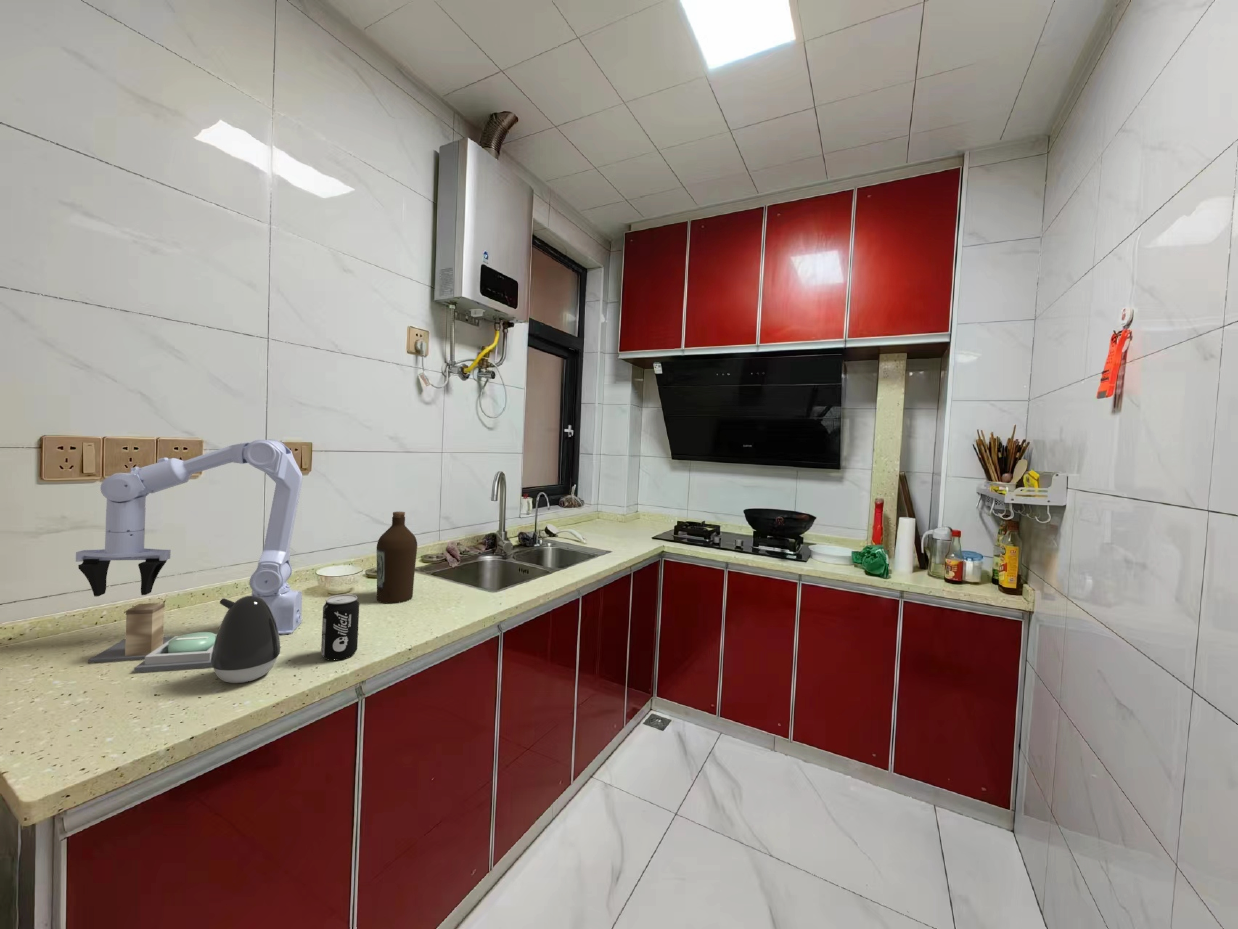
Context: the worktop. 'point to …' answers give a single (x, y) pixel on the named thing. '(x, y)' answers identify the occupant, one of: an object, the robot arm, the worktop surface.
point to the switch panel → (174, 660)
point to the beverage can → (340, 626)
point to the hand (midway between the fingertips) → (123, 594)
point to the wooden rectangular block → (144, 628)
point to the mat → (119, 653)
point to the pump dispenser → (245, 641)
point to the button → (191, 642)
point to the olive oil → (396, 562)
